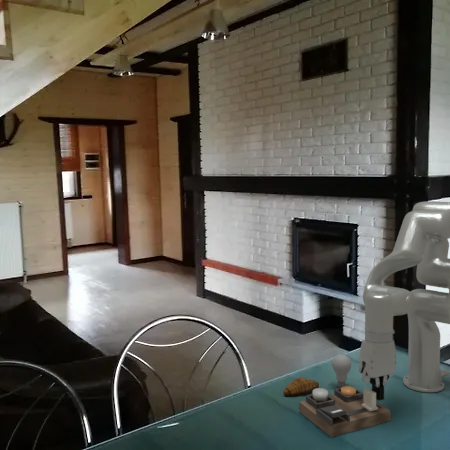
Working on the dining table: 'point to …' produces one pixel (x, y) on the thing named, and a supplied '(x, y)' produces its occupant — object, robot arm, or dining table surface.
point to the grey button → (320, 394)
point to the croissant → (300, 387)
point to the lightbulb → (341, 368)
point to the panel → (346, 423)
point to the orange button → (348, 390)
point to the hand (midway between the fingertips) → (377, 398)
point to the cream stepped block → (369, 400)
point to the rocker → (333, 411)
